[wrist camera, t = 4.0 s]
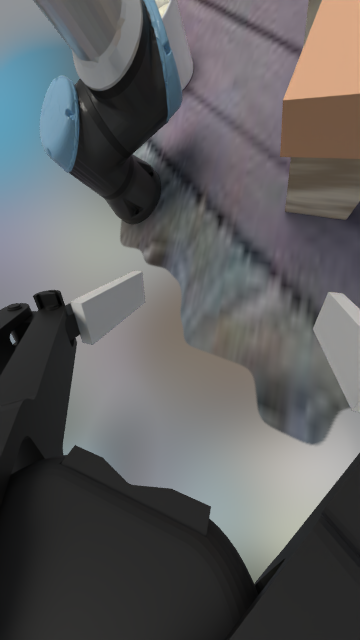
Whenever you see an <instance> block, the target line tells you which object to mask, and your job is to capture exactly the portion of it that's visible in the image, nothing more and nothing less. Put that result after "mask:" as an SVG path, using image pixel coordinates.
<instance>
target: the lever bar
mask: <svg viewBox="0 0 360 640" xmlns="http://www.w3.org/2000/svg"><path fill="white" fill-rule="evenodd" d="M280 157H305V158H341V159H360V0H322V1H321V4H320V7H319V9H318V12H317V14H316V17H315V19H314V22H313V25H312V27H311V30H310V32H309V35H308V37H307V40H306V43H305V45H304V48H303V50H302V53H301V55H300V58H299V61H298V63H297V66H296V68H295V71H294V73H293V76H292V79H291V81H290V84H289V86H288V89H287V91H286V94H285V97H284V99H283V112H282V133H281V154H280Z"/></svg>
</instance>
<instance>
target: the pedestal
mask: <svg viewBox="0 0 360 640" xmlns="http://www.w3.org/2000/svg"><path fill="white" fill-rule="evenodd" d="M321 1H322V0H309V3H308V12H307V20H306V29H305V38H304V45H305V43H306V40H307V37H308V35H309V32H310V30H311V27H312V25H313V22H314V19H315V17H316V14H317V12H318V9H319V7H320V4H321ZM303 48H304V47H303ZM359 201H360V159H341V158H305V157H291V162H290V171H289V180H288V189H287V198H286V206H285V212H291V213H299V214H306V215H313V216H320V217H327V218H335V219H342V220H346V219H347V218H348V217H349V215H350V214H351V213H352V211H353V210H354V208H355V207H356V206H357V204H358V203H359Z"/></svg>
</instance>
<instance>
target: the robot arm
mask: <svg viewBox="0 0 360 640" xmlns="http://www.w3.org/2000/svg"><path fill="white" fill-rule="evenodd" d="M33 1H34V2H35V3H36V5H37V6H38V7H39V8H40V10H41V11H42V12H43V13H44V15H45V16H46V17H47V18H48V20H49V21H50V22H51V24H52V25H53V26H54V28H55V29H56V30H57V31H58V33H59V34H60V35H61V36H62V38H63V39H64V40H65V42H66V43H67V44H68V45H69V47H70V48H71V49H72V51H73V59H74V64H75V67H76V70H77V73H78V75H79V77H80V79H79V81H78V82H77V83H76V84H75V85H74V83H73V82H72V81H71V79H68V78H67V77H66V76H63V75H60V76H59V77H58V78H55V79H54V80H53V81H52V83H51V85H50V86H49V88H48V91H47V93H46V96H45V99H44V102H43V106H42V111H41V119H40V137H41V141H42V145H43V148H44V150H45V152H46V153H47V155H48V156H49V157H50V158H51V159H52V160H53V161H55V162H56V163H57V164H58V165H59V166H61V167H62V168H63V169H64V170H65V171H66V172H67V173H70V174H71V175H73V176H74V177H75V178H77V179H78V180H79V181H81V182H82V183H84V184H85V185H86V186H88V187H89V188H91V189H92V190H93V191H95V192H96V193H97V194H99V195H100V196H102V197H103V198H104V199H105V200H106V201H107V203H108V204H109V205H110V207H111V208H112V210H113V211H114V212H115V214H116V215H117V216H118V217H119V218H121V219H122V220H123V221H125V222H127V223H130V224H135V223H139V222H141V221H143V220H144V219H146V218H147V217H148V216H149V215H150V214H151V213H152V212H153V210H154V209H155V207H156V205H157V203H158V200H159V197H160V191H161V183H160V179H159V176H158V174H157V173H156V171H155V170H154V169H153V168H152V166H151V165H149V164H148V163H147V162H145V161H143V160H141V159H140V158H138V157H136V156H134V155H133V153H134V152H135V151H136V150H137V149H138V148H140V147H141V146H142V145H143V144H144V143H145V142H146V141H147V140H148V139H149V138H150V137H152V136H153V135H154V134H155V133H156V132H157V131H158V130H159V129H160V128H161V127H163V126H164V125H165V124H166V123H168V121H169V119H170V118H171V117H172V116H173V115H174V113H175V112H176V111H177V110H178V109H179V107H180V105H181V103H182V87H181V82H180V78H179V74H178V70H177V66H176V62H175V59H174V56H173V52H172V50H171V48H170V43H169V40H168V37H167V33H166V30H165V26H164V24H163V21H162V18H161V15H160V12H159V10H158V7H157V4H156V2H155V0H33ZM33 297H34V300H35V302H36V305H37V307H38V311H37V312H36V311H31V309H30V307H29V305H28V304H26V303H20V304H18V303H16V304H11V305H9V306H7V307H5V308H3V309H1V310H0V640H360V453H359V454H358V456H357V457H356V458H355V460H354V461H353V462H352V463H351V464H350V466H349V467H348V469H347V470H346V471H345V472H344V473H343V475H342V476H341V477H340V478H339V480H338V481H337V482H336V483H335V485H334V486H333V487H332V488H331V490H330V491H329V492H328V494H327V495H326V496H325V497H324V498H323V500H322V501H321V502H320V504H319V505H318V506H317V507H316V509H315V510H314V511H313V512H312V514H311V515H310V516H309V517H308V519H307V520H306V521H305V522H304V524H303V525H302V526H301V527H300V529H299V530H298V531H297V533H296V534H295V535H294V536H293V538H292V539H291V540H290V541H289V543H288V544H287V545H286V546H285V548H284V549H283V550H282V551H281V552H280V554H279V555H278V556H277V557H276V558H275V559H274V560H273V562H272V563H271V564H270V565H269V566H268V568H267V569H266V570H265V571H264V572H263V574H262V575H261V576H260V577H259V579H258V580H257V581H256V582H255V584H254V583H253V580H252V578H251V576H250V574H249V572H248V570H247V568H246V566H245V564H244V562H243V560H242V559H241V557H240V555H239V554H238V552H237V550H236V549H235V547H234V546H233V544H232V543H231V542H230V540H229V539H228V537H227V536H226V535H225V534H224V533H223V532H222V531H221V529H220V528H219V527H218V526H217V525H216V524H215V523H214V522H213V521H211V520H210V519H209V515H210V509H211V506H208V505H206V504H204V503H202V502H200V501H197V500H195V499H193V498H191V497H188V496H186V495H184V494H182V493H179V492H177V491H175V490H173V489H168V488H158V487H147V486H137V485H131V484H129V483H127V482H126V481H125V480H124V479H123V478H122V477H121V476H120V475H119V474H118V473H117V472H116V471H115V470H114V469H113V468H112V467H111V466H110V465H109V464H108V463H107V462H106V461H105V460H104V458H102V457H100V456H98V455H95V454H93V453H91V452H89V451H86V450H84V449H82V448H80V447H78V446H76V445H75V446H74V447H73V448H72V450H71V451H70V453H69V454H68V455H63V438H64V431H65V424H66V417H67V410H68V403H69V396H70V388H71V381H72V375H73V368H74V360H75V353H76V346H77V341H76V338H75V337H77V336H78V335H80V336H81V339H82V342H83V343H87V344H91V345H93V344H94V343H95V342H97V341H98V340H99V339H101V338H102V337H103V336H104V335H106V333H108V332H109V331H110V330H112V329H113V328H114V327H115V326H116V325H118V324H119V323H120V322H122V321H123V320H124V319H125V318H126V317H128V316H129V315H130V314H131V313H132V312H134V311H135V310H136V309H137V308H139V307H140V306H141V305H142V304H143V303H145V295H144V286H143V275H142V272H141V271H133V272H131V273H128V274H126V275H124V276H122V277H120V278H118V279H116V280H114V281H112V282H110V283H108V284H106V285H103V286H101V287H99V288H97V289H95V290H93V291H91V292H89V293H87V294H85V295H83V296H81V297H79V298H77V299H74V300H73V301H70V304H68V305H66V306H65V304H64V301H63V298H62V295H61V292H60V291H58V290H49V291H43V292H39V293H37V294H35V295H34V296H33ZM313 330H314V333H315V335H316V337H317V339H318V341H319V343H320V345H321V347H322V349H323V351H324V353H325V355H326V358H327V360H328V362H329V364H330V366H331V368H332V370H333V372H334V374H335V376H336V378H337V380H338V382H339V385H340V387H341V389H342V391H343V393H344V395H345V397H346V399H347V401H348V403H349V405H350V407H351V409H352V411H355V412H359V413H360V309H359V308H358V307H357V306H356V305H355V304H353V303H352V302H351V301H350V300H349V299H348V298H347V297H346V296H345V295H344V294H343V293H333V292H328V294H327V297H326V299H325V301H324V304H323V306H322V308H321V311H320V313H319V316H318V318H317V320H316V323H315V325H314V328H313ZM10 334H12V335H13V338H14V340H15V341H16V342H15V343H14V344H12V343H11V341H10Z"/></svg>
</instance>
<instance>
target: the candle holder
mask: <svg viewBox="0 0 360 640" xmlns="http://www.w3.org/2000/svg"><path fill="white" fill-rule="evenodd" d="M155 2H156V4H157V7H158V10H159V12H160V15H161V18H162V21H163V24H164V26H165V30H166V33H167V37H168V40H169V43H170V48H171V50H172V52H173V56H174V59H175V62H176V66H177V70H178V74H179V78H180V82H181V87H182V90H183V89H184V88H185V87H186V86H187V84H188V83H189V81H190V79H191V77H192V74H193V61H192V56H191V52H190V48H189V44H188V41H187V37H186V33H185V29H184V25H183V21H182V17H181V13H180V9H179V5H178V1H177V0H155Z"/></svg>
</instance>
